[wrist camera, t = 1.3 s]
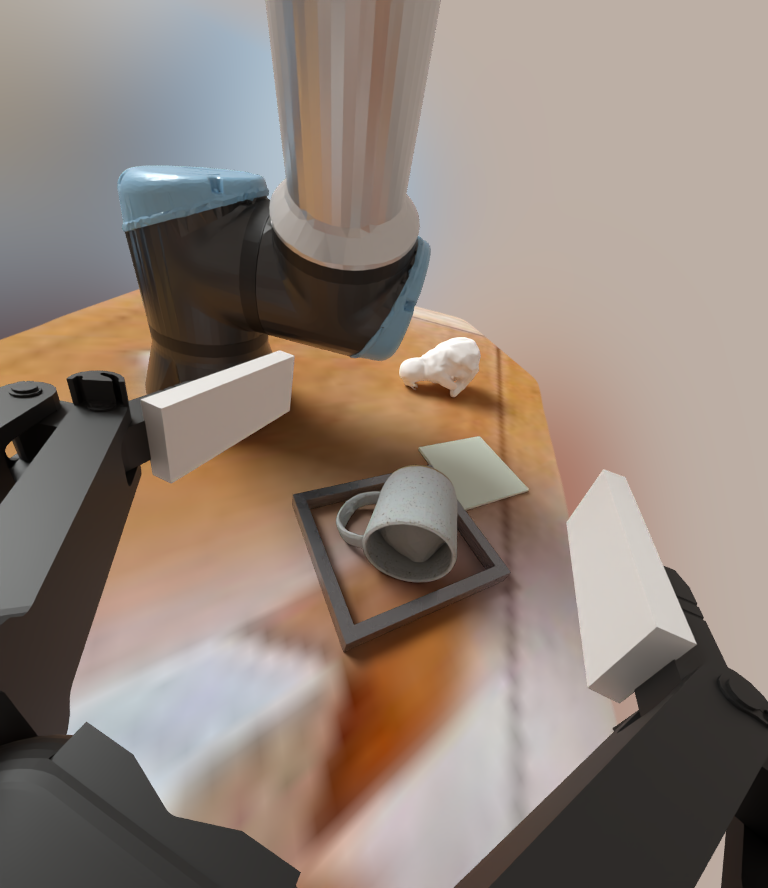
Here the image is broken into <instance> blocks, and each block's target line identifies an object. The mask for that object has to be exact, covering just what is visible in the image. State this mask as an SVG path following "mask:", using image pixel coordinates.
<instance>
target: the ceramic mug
mask: <svg viewBox="0 0 768 888" xmlns="http://www.w3.org/2000/svg"><path fill="white" fill-rule="evenodd" d="M370 504H376V507H375V509H374V512H373V514H372V516H371V519H370V522H369V524H368V526H367V529H366V531H365V534H364V535H358V534H355V533H352V532H350V531H348V530H346V529H345V526H346V524H347V522H348V520H349V518H350V517H351V515H352V514H353V513H354V511H355V510H356V509H358V508H360V507H362V506H365V505H370ZM336 524H337V528H338V530H339V533H340V535H341V537H342V538H343V539H344V541H345V542H347V543H348V544H350V545H353V546H356V547H359V548H363V551H364V554H365V556H366V558H367V559H368V560H369V562H370V563H371V564H372V565H373V566H375V567H376V568H377V569H378V570H380V571H381V572H383V573H385V574H387V575H389V576H391V577H394V578H396V579H400V580H403V581H408V582H417V583H419V582H430V581H435V580H437V579H440V578H442V577H444V576H445V575H446V574H448V573H449V572H450V571H451V570H452V568H453V566H454V564H455V562H456V558H457V497H456V493H455V489H454V487H453V484H452V482H451V481H450V480H449V478H448V477H447V476H446V475H444V474H443V473H442V472H440V471H438V470H436V469H434V468H431V467H428V466H424V465H410V466H405V467H402V468H400V469H398V470H396V471H395V472H393V473H392V474H391V475H390V477H389V478H388V479H387V481H386V482H385V484H384V486H383V488H382V490H381V492H379V491H373V492H365V493H361V494H358V495H356V496H354V497H352V498H351V499H349V500H348V501H347V502H346V503H345V504H344V505H343V506H342V507H341V509H340V510H339V512H338V515H337V518H336Z"/></svg>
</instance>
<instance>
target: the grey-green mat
mask: <svg viewBox="0 0 768 888" xmlns="http://www.w3.org/2000/svg"><path fill="white" fill-rule="evenodd" d="M418 450H419V451H420V453H421V454H422V455H423V457H424V458H425V460H426V461H427V462H428V464H429V465H432V466H433V468H434V469H436V470H438V471H440V472H442V473H443V474H444V475H446V476H447V477H448V478H449V480H450V481H451V482H452V484H453V487H454V489H455V493H456V497H457V500H458V501H459V503H460V504H461V505H462V507H463V508H464V510H469V509H472V508H475V507H479V506H482V505H485V504H488V503H492V502H495V501H498V500H502V499H505V498H508V497H511V496H515V495H518V494H521V493H525V492H528V490H529V489H528V488H527V487H526V486H525V485H524V484H523V482H522V481H521V480H520V479H519V478H518V477H517V476H516V475H515V474H514V473H513V472H512V471H511V470H510V468H509V467H508V466H507V465H506V464H505V463H504V462H503V461H502V460H501V459H500V458H499V457H498V456H497V454H496V453H495V452H494V451H493V450H492V449H491V448H490V447H489V446H488V445H487V444H486V443H485V442H484V440H483V439H482V438H481V437H480V436H478V437H472V438H467V439H461V440H456V441H451V442H445V443H440V444H434V445H429V446H424V447H419V449H418Z"/></svg>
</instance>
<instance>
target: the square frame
mask: <svg viewBox="0 0 768 888" xmlns="http://www.w3.org/2000/svg"><path fill="white" fill-rule="evenodd" d="M428 467H431V468H433V466H432V465H428ZM391 474H392V473H391ZM391 474H386V475H381V476H377V477H372V478H368V479H363V480H358V481H354V482H349V483H344V484H340V485H335V486H331V487H326V488H321V489H317V490H312V491H307V492H303V493H298V494H293V499H292V505H293V508H294V511H295V514H296V517H297V520H298V523H299V526H300V528H301V531H302V534H303V537H304V540H305V543H306V546H307V549H308V552H309V554H310V557H311V560H312V563H313V566H314V569H315V572H316V575H317V577H318V580H319V583H320V586H321V589H322V592H323V595H324V598H325V601H326V603H327V606H328V609H329V612H330V615H331V618H332V621H333V624H334V626H335V629H336V632H337V635H338V638H339V641H340V644H341V647H342V650H343V652H345V651H347V650H349V649H352V648H354V647H356V646H358V645H361V644H363V643H365V642H367V641H370V640H372V639H374V638H376V637H378V636H381V635H383V634H385V633H387V632H390V631H392V630H394V629H396V628H399V627H401V626H403V625H405V624H408V623H410V622H412V621H414V620H416V619H419V618H421V617H423V616H425V615H428V614H430V613H432V612H434V611H437V610H439V609H441V608H443V607H445V606H448V605H450V604H452V603H454V602H457V601H459V600H461V599H463V598H466V597H468V596H470V595H472V594H475V593H477V592H479V591H481V590H483V589H486V588H488V587H490V586H492V585H495V584H497V583H499V582H501V581H504V580H505V578H506V577H507V576H508V575H509V574H510V573H511V572H510V571H509V569H508V568H507V566H506V565H505V564H504V562H503V561H502V560H501V558H500V557H499V556H498V554H497V553H496V552H495V550H494V549H493V548H492V546H491V545H490V543H489V542H488V541H487V539H486V538H485V537H484V535H483V534H482V533H481V531H480V530H479V529H478V527H477V526H476V524H475V523H474V522H473V520H472V519H471V518H470V516H469V515H468V514H467V512H466V511H465V510H464V508H463V507H462V505H461V504H460V503H459V501H458V500H457V528H458V530H459V531H460V533H461V534H462V536H463V537H464V539H465V540H466V542H467V543H468V544H469V546H470V547H471V549H472V550H473V552H474V553H475V555H476V556H477V557H478V559H479V560H480V562H481V563H482V565H483V566H484V568H485V569H486V570H485V571H483V572H480V573H478V574H475V575H473V576H471V577H468V578H466V579H463V580H461V581H459V582H456V583H454V584H451V585H449V586H447V587H444V588H442V589H439V590H437V591H435V592H432V593H430V594H427V595H425V596H423V597H420V598H418V599H415V600H413V601H411V602H408V603H406V604H403V605H401V606H399V607H396V608H394V609H391V610H389V611H387V612H384V613H382V614H379V615H377V616H374V617H372V618H370V619H367V620H365V621H362V622H360V623H358V624H355V625H354V624H353V621H352V619H351V616H350V613H349V611H348V608H347V606H346V603H345V600H344V598H343V595H342V593H341V590H340V587H339V585H338V582H337V580H336V577H335V574H334V572H333V569H332V566H331V564H330V561H329V559H328V556H327V553H326V551H325V548H324V546H323V543H322V540H321V538H320V535H319V532H318V530H317V527H316V525H315V522H314V519H313V517H312V514H311V512H310V509H312V508H316V507H320V506H325V505H329V504H333V503H337V502H341V501H345V500H349V499H351V498H352V497H354V496H356V495H358V494H361V493H365V492H373V491H379V492H381V490H382V488H383V486H384V484H385V482H386V481H387V479H388V478H389V477H390V475H391Z"/></svg>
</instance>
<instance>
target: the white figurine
mask: <svg viewBox="0 0 768 888" xmlns="http://www.w3.org/2000/svg"><path fill="white" fill-rule="evenodd" d="M479 361H480V351H479V348H478V347H477V345H476V342H475V341H474V340H472V339H468V338H466V337H457V338H452V339H449V340H448V341H445V342H442V343H440V344H438V345H437V346H436V347H435V348H434V349H432V350H429V351H428V352H427V353H426V354H425V355H423V356H422V357H420V358H411V359H408V360H405V361H404V362H403V363H402V364H401V366H400V370H399V375H400V377H401V378H402V379H403V381H404V383H405V385H408V386H410V387H412V386H413V387H417V385H416V384H415V382H418V381H430V382H432V383H439V384H440V385H441V386H443V387H445V388H447V389H450V396H451V397H456V396H457V395H458V394H459V393H460V392H461V391H462V390H464V389H465V387H466V386H467V385H468V384H469V383H470V382H471V381H472V380H473V378H474V376H475V375H476V374H477V372H478V371H479V366H478V365H479ZM456 380H457V381H456ZM454 381H456V382H454ZM413 387H412V388H413ZM413 389H414V388H413ZM414 390H415V389H414Z"/></svg>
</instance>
